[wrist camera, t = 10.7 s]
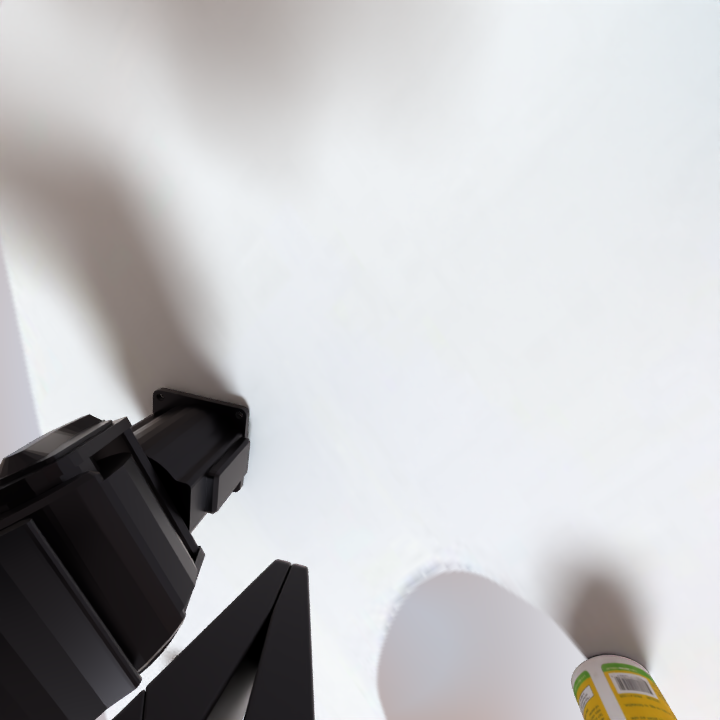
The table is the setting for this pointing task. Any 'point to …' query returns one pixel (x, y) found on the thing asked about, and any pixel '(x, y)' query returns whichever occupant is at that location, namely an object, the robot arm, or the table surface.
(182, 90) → the table surface
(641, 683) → the supplement bottle
